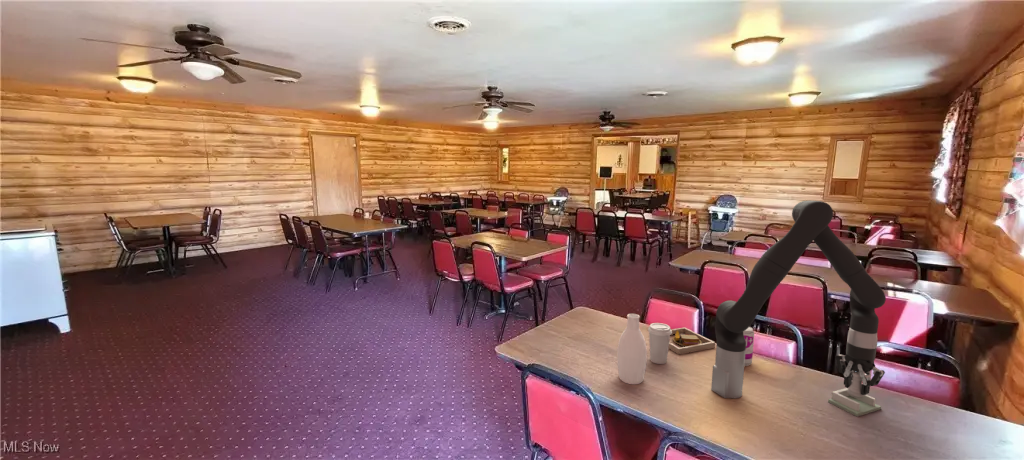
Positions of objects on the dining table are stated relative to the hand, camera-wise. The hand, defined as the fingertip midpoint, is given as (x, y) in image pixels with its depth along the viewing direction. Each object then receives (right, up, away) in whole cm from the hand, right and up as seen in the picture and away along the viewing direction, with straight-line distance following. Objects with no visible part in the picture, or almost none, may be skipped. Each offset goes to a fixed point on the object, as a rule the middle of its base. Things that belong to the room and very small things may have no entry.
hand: (855, 390), depth 140 cm
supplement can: (-21, -1, +33) cm, 39 cm away
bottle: (-70, -3, +20) cm, 73 cm away
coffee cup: (-55, -1, +35) cm, 65 cm away
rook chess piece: (0, -2, 0) cm, 2 cm away
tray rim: (-38, +2, +52) cm, 64 cm away
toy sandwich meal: (-35, +2, +52) cm, 63 cm away
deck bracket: (0, -5, +1) cm, 5 cm away
